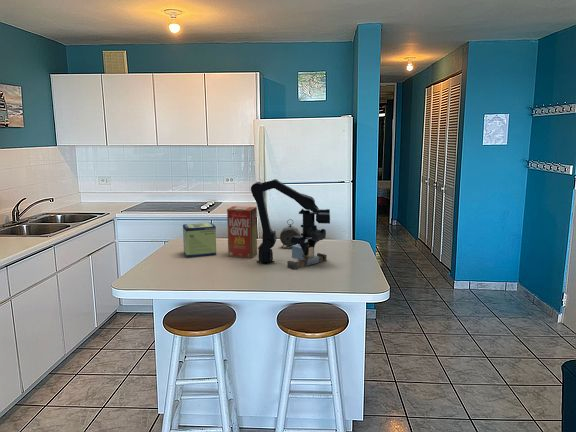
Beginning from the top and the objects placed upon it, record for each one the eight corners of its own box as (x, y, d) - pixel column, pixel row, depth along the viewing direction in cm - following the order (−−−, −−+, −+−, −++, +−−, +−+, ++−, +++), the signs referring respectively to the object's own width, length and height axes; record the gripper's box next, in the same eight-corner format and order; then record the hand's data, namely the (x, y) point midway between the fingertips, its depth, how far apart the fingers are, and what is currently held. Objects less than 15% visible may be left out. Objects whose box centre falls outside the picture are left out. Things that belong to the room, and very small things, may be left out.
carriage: (307, 265, 220) (307, 249, 218) (297, 262, 225) (297, 246, 223) (319, 262, 225) (319, 246, 224) (308, 259, 230) (309, 244, 229)
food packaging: (227, 256, 237) (226, 208, 233) (233, 252, 246) (232, 205, 242) (252, 258, 234) (251, 209, 230) (257, 253, 243) (257, 206, 239)
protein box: (217, 255, 240) (216, 225, 238) (186, 258, 235) (185, 228, 232) (212, 250, 250) (211, 222, 247) (183, 253, 244) (182, 224, 242)
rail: (294, 269, 216) (294, 263, 215) (287, 267, 219) (287, 261, 219) (326, 260, 230) (326, 254, 230) (319, 258, 234) (319, 252, 233)
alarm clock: (300, 247, 257) (300, 218, 254) (299, 249, 252) (299, 220, 249) (280, 246, 258) (280, 218, 255) (279, 249, 253) (279, 219, 250)
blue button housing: (302, 260, 231) (303, 248, 230) (291, 257, 237) (291, 245, 236) (314, 257, 237) (314, 245, 235) (302, 254, 242) (303, 243, 241)
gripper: (307, 228, 209) (306, 261, 212) (334, 222, 222) (333, 254, 225) (290, 224, 217) (290, 257, 220) (317, 219, 230) (316, 250, 233)
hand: (308, 254), depth 224 cm, fingers closed on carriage, 3 cm apart
